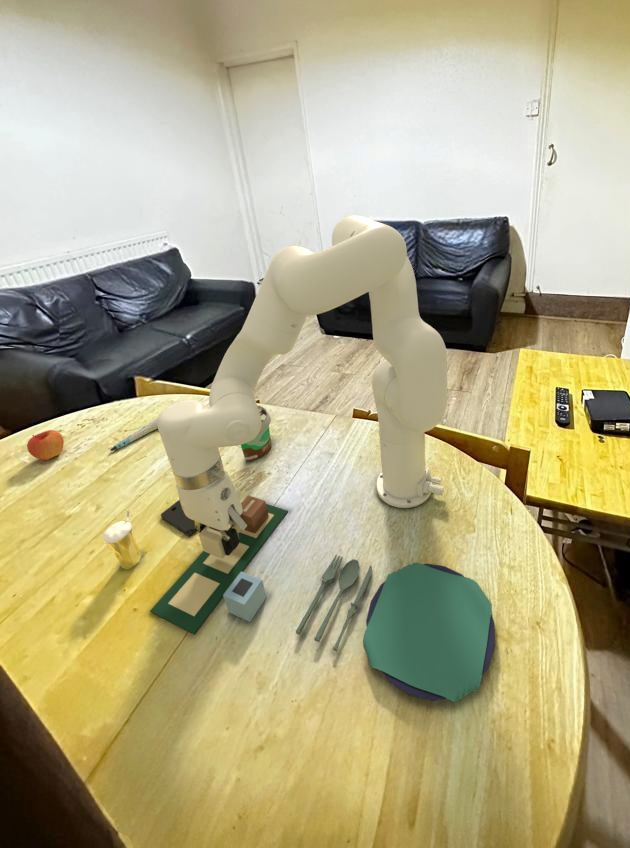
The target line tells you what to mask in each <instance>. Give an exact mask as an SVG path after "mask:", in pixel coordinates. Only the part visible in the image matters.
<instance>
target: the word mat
mask: <svg viewBox="0 0 630 848" xmlns="http://www.w3.org/2000/svg"><path fill="white" fill-rule="evenodd" d="M266 506H267V511H268V515H269V517H268V518H267V520H266V521H265V522H264V523H263V525H262V526H261V527H260V528H259V530H258V531H257V532H256V533H252V532H249V531H247V530H243V531H242V532H240V533H238V536H239V541H240V542H239V544H238V546H237V547H236V548H235V549H234V550H233V551H232V553H231V554H230V555H229V556H228V555H226V556H225V557H224V558H223V559H221V558H219V557H216V556H214V555H212V554H209V553H207V552H204V550H203V551H202V552H201V553H200V554H199V555H198V556H197V557H196V558H195V559H194V561H192V563H191V564H190V565H189V567H187V569H186V570H185V571H184V572H183V573H182V574H181V576H179V578H178V579H177V580H176V581H175V582H174V583H173V584H172V585H171V586H170V588H169V589H168V590H167V591H166V592H165V593H164V594H163V596H162V597H161V598H159V600H158V601H157V602H156V603H155V604H154V605H153V607H152V608H151V609H150V610H149V611H150V613H152V614H153V615H155V616H158V617H160V618H161V619H163V620H165V621H167V622H169V623H171V624H173V625H175V626H177V627H178V628H181V629H182V630H185V631H187V632H189V633H191V634H193V635H196V633H197V632H198V631H199V629H200V628H201V627H202V625H204V623H205V622H206V620H207V619H208V617H209V616H210V615H211V614H212V613H213V611H214V610H215V608H216V607H217V606H218V605H219V603H220V602H221V600H222V599H224V597H223V594H224V593H225V592H226V591H227V589H228V588H229V587H230V585H231V584H232V583H233V581H234V580H235V579H236V577H237V576H238V575H239V573H240V572H244V571H245V569H246V568H247V566H248V565H249V564H250V562H252V560H253V558H254V557H255V556H256V555H257V554H258V552H259V551H260V550H261V548H262V547H263V545H264V544H265V543H266V541H267V540H268V539H269V537H270V536H271V535H272V534H273V532H274V531H275V529H276V528H277V527H278V526H279V524H280V523H281V522H282V521H283V520H284V518H285V516H286V515H287V514H288V512H289V511H288V510H287V509H284V508H282V507H278V506H275V505H271V504H269V503H266Z"/></svg>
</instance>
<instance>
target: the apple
mask: <svg viewBox="0 0 630 848" xmlns="http://www.w3.org/2000/svg"><path fill="white" fill-rule="evenodd" d="M64 445H65V440H64V437H63V434H61V433H60V432H59V431H57V430H55V429H51V430H50V429H49V430H45V431H42V432H40V433H37V434H32V435H31V437H30V438H29V440H28V441H27V444H26V446H27V451H28V453H29V454H30V455H31V456H32V457H33V458H36V459H38V460H40V461H41V460H42V461H49V460H50V459H53V458H54V457H56V456H59V455H61V454H62V451H63V448H64Z"/></svg>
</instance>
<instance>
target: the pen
mask: <svg viewBox="0 0 630 848" xmlns="http://www.w3.org/2000/svg"><path fill="white" fill-rule="evenodd" d="M157 419H158V418H156V419H154V420H153V421H151V422H150V423H148V424H146V425H145V426H143V427H141V428H140V429H138V430H137V431H136V432H134V433H132V434H130V435H128V436H126V438H125V437H124V439H122V440H121V441H118V442H117V443H116V444H115V445H114V446H113V447H111V448H110V449H109V452H113V451H115V450H118V449H121V448H123V447H125V446H127V445H129V444H131V443H132V442H134V441H136V440H138V439H140V438H142V437H143V436H145V435H147V434H149V433H151V432H153V431H155V430H158V426H157Z"/></svg>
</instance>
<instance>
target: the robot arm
mask: <svg viewBox="0 0 630 848" xmlns="http://www.w3.org/2000/svg"><path fill="white" fill-rule="evenodd" d="M331 245H332V246H330V247H327V248H325V249H323V250H319V251H317V252H314V251H312V250H310V249H308V248H307V247H303V246H299V245H289V246H285V247H283V248H281V249H280V250H278V251H277V252H276V253H275V255H274V256H273V257H272V259H271V261H270V263H269V265H268V267H267V270H266V272H265V274H264V277H263V279H262V282H261V284H260V286H259V288H258V291H257V292H256V293H257V294H256V296H255V298H254V301H253V303H252V305H251V307H250V310H249V312H248V315H247V317H246V319H245V321H244V323H243V325H242V328H241V330H240V331H239V333H238V334H237V335H236V337H235V338H234V340H233V341H232V343H231V344H230V345H229V347H228V348H227V350H226V352H225V353H224V356H223V358H222V360H221V362H220V364H219V366H218V369H217V371H216V374H215V376H214V378H213V381H212V384H211V387H210V391H209V395H208V404H209V405H208V406H209V407H207V406H206V404H205V403H203V402H202V401H200V400H195V399H185V400H180V401H177V402H174V403H171V404H170V405H168V406H167V407H165V408H164V409H163V410H162V411H161V412H160V413H159V414H158V416H157V418H156V419H157V426H158V429H157V430H158V434H159V436H160V438H161V442H162V445H163V447H164V448H163V449H164V451H165V453H166V456H167V459H168V463H169V464H170V465H169V466H170V468H171V471H172V473H173V474H172V475H173V477H174V480H175V484H176V490H177V495H178V498H179V499H178V500H180V503H181V506H182V507H181V508H182V509H183V511H184V513H185V515H186V516H187V517H188V518H190V519H192V520H193V521H194V522H195V528H196V529H197V530H196V531H198V534H199V533H200V532H201V531H202V530H203V529H204V528H205V527H206V526H209V527H212V528H215V529H218V530H219V531H220V533H221V535H222V537H223V539H222V540H221V541H222V545H223V548H224V551H225V554H226V555H228V556H229V555H230V554H231V553H232V551H233V550H234V549H235V548H236V547H237V546H238V544H239V542H240V541H239V537H238V534H237V533H240V532H242V531H243V530H244V529H245V528H246V527H247V524H246V523H245V522H244V521H243V519H242V518H241V517H240V516H239V515H241V514H242V512H243V509H242V505H241V502H242V501H241V499H240V496H239V493H238V490H237V489H236V488H237V487H236V486H235V484H234V481H233V480H232V478H231V476H230V474H229V473H228V472H227V471H226V470H225V468H224V464H223V460H222V455H221V453H220V449H219V448H226V447H227V448H228V447H237V446H241V445H242V444H245V443H248V442H250V441H252V440H253V439H254V438H255V437H256V436H257V435H258V434H259V432H260V430H261V425H262V422H261V416H260V413H259V409H258V406H259V405H258V403H257V401H256V397H255V393H254V392H255V389H256V387H257V384H258V382H259V380H260V378H261V375H262V373H263V372H264V369H265V368H266V366H267V364H268V363H269V362H270V360H271V359H273V358H274V357H275V356H279V355H285V354H289V353H290V352H291V351H292V350H293V349H294V347H295V345H296V343H297V340H298V337H299V336H300V333H301V331H302V329H303V326H304V325H305V322H306V320H307V318H308V316H317V315H320V314H323V313H327V312H329V311H332V310H333V309H336V308H338V307H340V306H343V305H345V304H347V303H349V302H351V301H353V300H355V299H357V298H359V297H361V296H363V295H365V294H367V293H368V296H369V302H370V303H369V304H370V314H371V325H372V338H373V339H372V340H373V344H374V346H375V349H376V350H377V352H378V353H379V354H380V355H381V356H382V357H383V358H384V359H383V360H382V361H380V362H379V363H378V364H377V366H376V367H375V369H374V371H373V374H372V378H371V390H372V395H373V400H374V404H375V409H376V414H377V421H378V434H379V435H378V437H379V446H380V447H379V449H380V461H381V472H380V474H379V475H378V476H377V478H376V482H375V483H376V484H375V486H376V493H377V495H378V497H379V498H380V499H381V500H382V501H383V503H386V504H387V505H389V506H391V507H394V508H399V509H409V508H414V507H417V506H420V505H422V504H424V503H425V502H426V501H427V500H428V499H429V498H430V497H431V495H432V494H434V495H437V496H440V497H443V496H444V493H445V486H443V485H441V484H442V481H443V478H440V477H436V476H432V474H430V467H428V466H426V444H425V443H426V437H425V436H426V432H430V431H431V430H433V429H434V428H435V427H437V426H438V425H439V424H440V422H441V421H442V419H443V417H444V416H445V413H446V409H447V406H448V352H447V351H448V350H447V348H446V344H445V342H444V339H443V337H442V336H441V334H440V333H439V332H438V330H436V328H433V327H432V325H430V324H428V323H427V322H425V321H424V320H423V318H421V316H420V312H419V311H420V310H419V301H418V290H417V280H416V277H415V271H414V269H413V265H412V262H411V261H410V259H409V257H408V249H407V244H406V241H405V238H404V237H403V236H402V234H401V233H400V232H399V231H398V230H397V229H395V228H394V227H392V226H391V225H388V224H386V223H382V222H380V221H376V220H374V219H372V218H368V217H365V216H362V215H348V216H345V217H343V218H341V219H340V220H338V222H336V224H335V225H334V227H333V229H332V234H331ZM257 405H258V406H257ZM228 524H230V526H231V527H230V528H229V529H228ZM227 529H228V530H227Z"/></svg>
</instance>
